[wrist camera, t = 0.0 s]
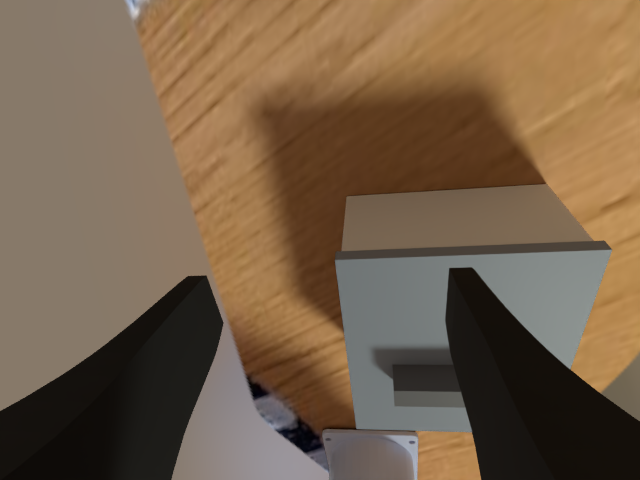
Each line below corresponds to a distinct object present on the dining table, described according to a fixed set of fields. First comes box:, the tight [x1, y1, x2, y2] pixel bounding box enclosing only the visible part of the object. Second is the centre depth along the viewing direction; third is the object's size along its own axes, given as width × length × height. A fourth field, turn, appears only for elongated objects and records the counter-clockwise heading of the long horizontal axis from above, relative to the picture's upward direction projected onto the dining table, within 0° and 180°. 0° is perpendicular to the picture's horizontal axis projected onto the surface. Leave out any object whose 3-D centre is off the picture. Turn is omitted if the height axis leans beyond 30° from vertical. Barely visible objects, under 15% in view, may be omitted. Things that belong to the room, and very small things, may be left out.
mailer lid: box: [335, 241, 612, 432], centre depth 19 cm, size 12×10×2 cm
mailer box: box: [341, 184, 593, 251], centre depth 22 cm, size 12×10×5 cm
